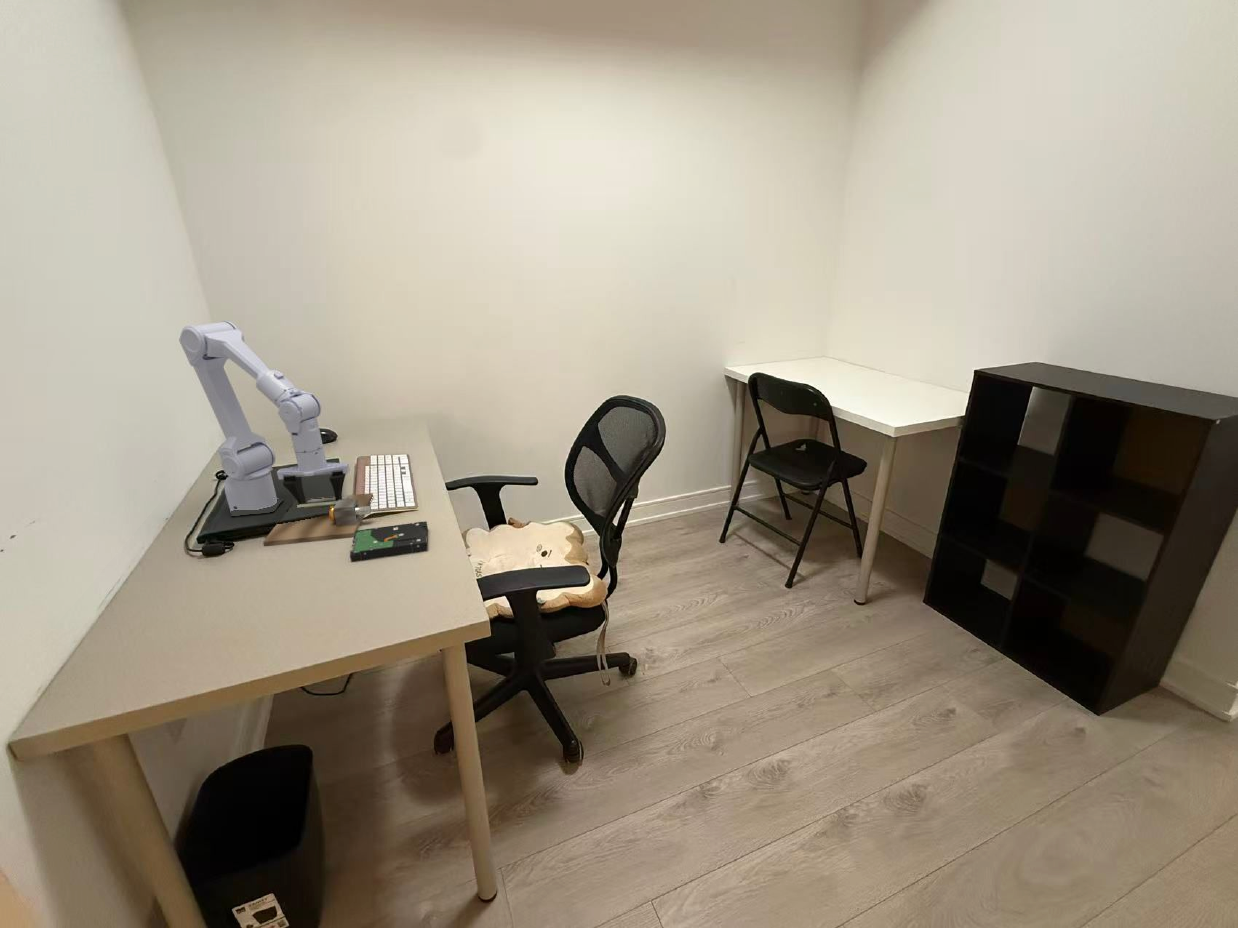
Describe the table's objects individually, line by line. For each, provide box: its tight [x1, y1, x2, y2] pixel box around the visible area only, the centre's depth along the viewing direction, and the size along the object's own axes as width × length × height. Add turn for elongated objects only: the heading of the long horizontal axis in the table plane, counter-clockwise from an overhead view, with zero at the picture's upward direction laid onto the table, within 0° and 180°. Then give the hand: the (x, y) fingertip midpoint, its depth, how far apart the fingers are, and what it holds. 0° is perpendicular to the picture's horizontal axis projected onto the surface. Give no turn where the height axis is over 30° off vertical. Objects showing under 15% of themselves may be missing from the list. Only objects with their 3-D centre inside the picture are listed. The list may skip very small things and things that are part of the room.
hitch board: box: [262, 492, 374, 547], centre depth 131 cm, size 18×22×5 cm
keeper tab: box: [297, 501, 338, 509], centre depth 133 cm, size 9×6×1 cm
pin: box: [329, 505, 372, 521], centre depth 128 cm, size 8×3×3 cm, turn 102°
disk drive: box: [349, 520, 429, 563], centre depth 120 cm, size 10×3×15 cm
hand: (321, 504), depth 131 cm, fingers open, 7 cm apart
